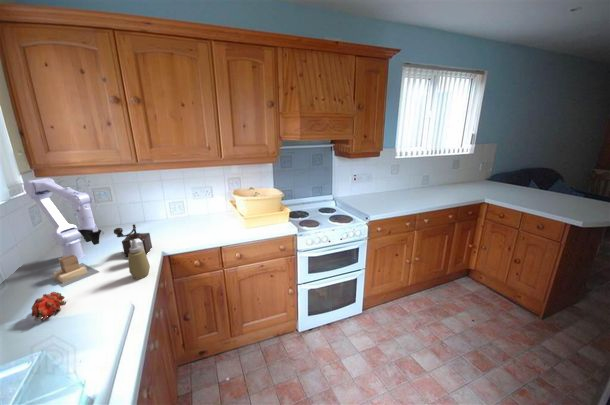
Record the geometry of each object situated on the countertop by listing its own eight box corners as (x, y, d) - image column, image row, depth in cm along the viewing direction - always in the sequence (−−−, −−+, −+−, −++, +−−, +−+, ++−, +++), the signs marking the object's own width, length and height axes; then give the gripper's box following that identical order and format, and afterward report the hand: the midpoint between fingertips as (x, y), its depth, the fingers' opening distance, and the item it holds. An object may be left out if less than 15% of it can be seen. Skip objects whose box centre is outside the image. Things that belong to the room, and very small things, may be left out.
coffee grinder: (131, 249, 147) (125, 219, 142) (152, 247, 149) (147, 217, 144) (118, 262, 132) (110, 229, 127) (142, 260, 135) (135, 227, 130)
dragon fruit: (65, 305, 103) (47, 331, 92) (38, 299, 99) (17, 325, 88) (74, 290, 101) (57, 313, 91) (48, 283, 97) (27, 307, 87)
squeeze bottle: (138, 271, 124) (130, 236, 119) (155, 271, 124) (148, 236, 119) (126, 280, 116) (118, 243, 111) (144, 280, 116) (136, 243, 111)
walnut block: (61, 270, 119) (58, 258, 117) (75, 265, 123) (71, 254, 121) (66, 273, 116) (62, 261, 115) (80, 268, 120) (76, 256, 119)
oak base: (54, 277, 118) (53, 272, 118) (78, 268, 126) (77, 263, 125) (63, 283, 114) (61, 277, 113) (87, 273, 122) (86, 267, 121)
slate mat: (46, 277, 120) (45, 276, 120) (82, 264, 132) (82, 262, 131) (62, 288, 111) (62, 287, 111) (100, 273, 123) (99, 271, 123)
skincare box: (147, 262, 132) (143, 241, 128) (137, 266, 129) (132, 243, 125) (143, 258, 136) (139, 237, 132) (134, 262, 133) (129, 240, 129)
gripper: (69, 217, 128) (76, 243, 131) (82, 222, 121) (90, 248, 125) (86, 213, 134) (92, 238, 137) (100, 217, 127) (106, 243, 130)
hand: (92, 242), depth 131 cm, fingers open, 7 cm apart
